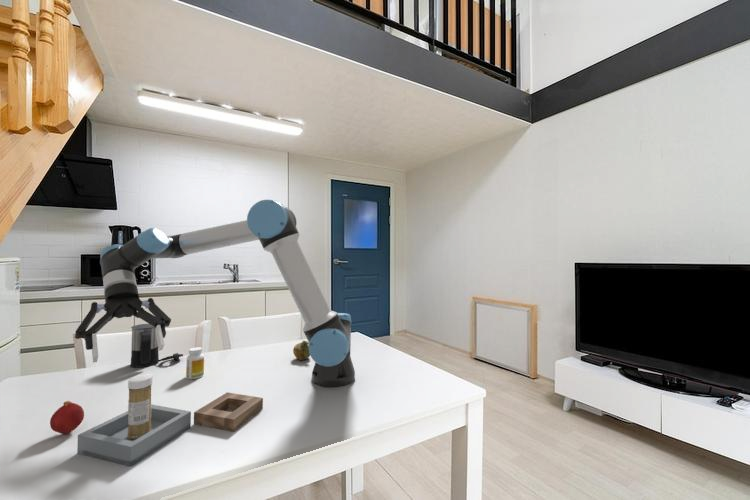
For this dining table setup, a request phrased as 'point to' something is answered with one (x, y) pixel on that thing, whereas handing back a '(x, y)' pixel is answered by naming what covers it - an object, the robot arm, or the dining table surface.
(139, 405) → the sprinkles bottle
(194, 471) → the dining table surface
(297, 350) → the onion
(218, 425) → the walnut holder
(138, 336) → the milk frother
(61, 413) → the onion
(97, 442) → the grey tray
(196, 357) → the supplement bottle
